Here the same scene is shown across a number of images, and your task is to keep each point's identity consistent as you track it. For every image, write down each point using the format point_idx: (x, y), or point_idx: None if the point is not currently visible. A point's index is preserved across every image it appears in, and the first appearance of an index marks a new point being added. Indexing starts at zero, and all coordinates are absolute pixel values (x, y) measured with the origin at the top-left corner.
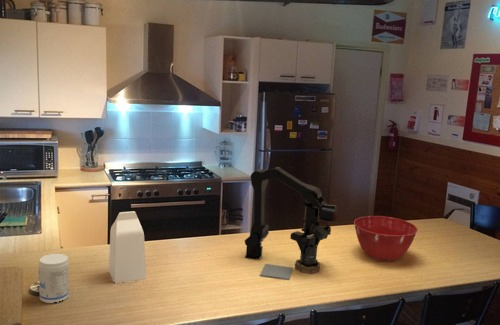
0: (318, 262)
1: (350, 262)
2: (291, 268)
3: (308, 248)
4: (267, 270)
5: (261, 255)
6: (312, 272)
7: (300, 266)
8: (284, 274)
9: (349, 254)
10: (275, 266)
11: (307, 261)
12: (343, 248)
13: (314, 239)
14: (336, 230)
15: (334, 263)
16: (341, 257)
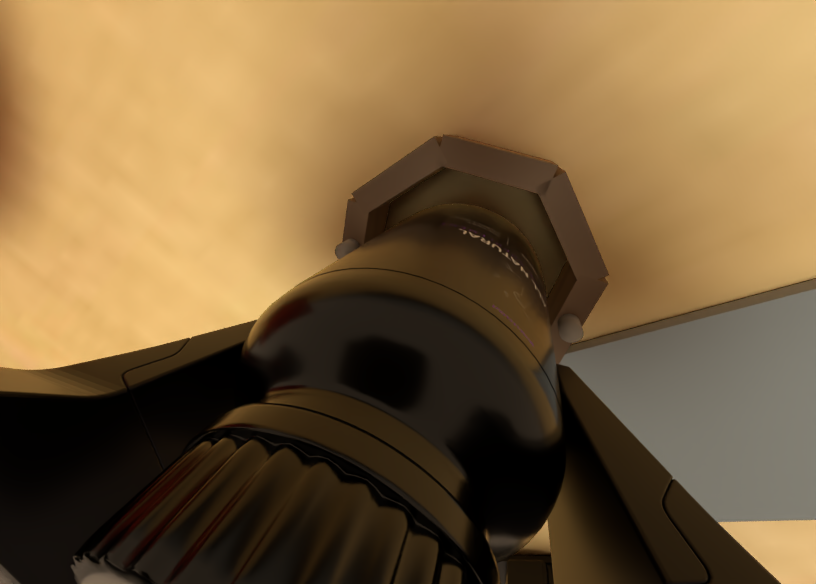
0: (354, 221)
1: (98, 92)
2: (588, 357)
3: (549, 396)
4: (793, 487)
5: (531, 566)
6: (544, 160)
7: (591, 298)
8: (811, 346)
9: (54, 191)
10: None
11: (538, 268)
12: (55, 267)
13: (209, 566)
14: None
15: (210, 169)
16: (117, 200)
